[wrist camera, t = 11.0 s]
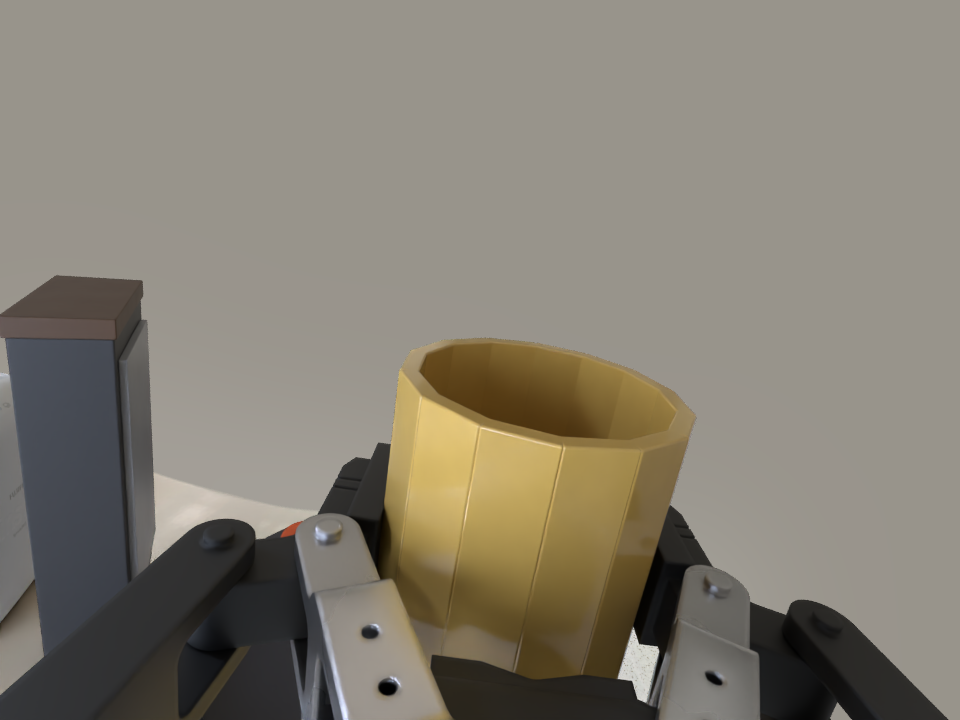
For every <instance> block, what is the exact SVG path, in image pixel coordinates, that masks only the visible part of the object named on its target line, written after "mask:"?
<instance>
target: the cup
mask: <svg viewBox="0 0 960 720" xmlns="http://www.w3.org/2000/svg"><path fill="white" fill-rule="evenodd" d="M397 387H398V388H397V395H396V405H395V412H394V422H393V430H392V439H391V447H390V456H389V464H388V473H387V482H386V490H385V499H384V511H383V520H382V529H381V537H380V546H379V555H378V564H377V572H378V575H379V578H380V580H382V579H387V578H391V579H392V580H393V581H394V583H395V585H396V587H397V590H398V592H399V595H400V597H401V599H402V602H403V604H404V607H405V609H406V611H407V614H408V616H409V619H410V621H411V623H412V626H413V628H414V631H415V633H416V635H417V638H418V640H419V643H420V645H421V647H422V650H423V652H424V655H425V657H426V659H427V662H428V664H429V667H430V664H431V657H432V655H439V656H447V657H454V658H462V659H470V660H477V661H483V662H485V663H488V664H491V665H494V666H496V667H499V668H502V669H505V670H508V671H510V672H513V673H516V674H519V675H521V676H524V677H527V678H530V679H547V678H556V677H566V676H575V675H590V676H598V677H605V678H613V679H618V677H619V673H620V670H621V667H622V663H623V660H624V657H625V653H626V650H627V647H628V644H629V640H630V637H631V634H632V630H633V627H634V624H635V620H636V617H637V614H638V610H639V607H640V604H641V600H642V597H643V594H644V590H645V587H646V584H647V580H648V577H649V574H650V571H651V567H652V564H653V561H654V557H655V554H656V551H657V547H658V544H659V541H660V537H661V534H662V531H663V527H664V524H665V521H666V517H667V514H668V511H669V507H670V504H671V501H672V498H673V494H674V491H675V487H676V484H677V481H678V478H679V474H680V471H681V468H682V464H683V461H684V457H685V454H686V451H687V448H688V444H689V441H690V438H691V434H692V431H693V428H694V424H695V421H696V415H695V414H694V413H693V412H692V410H691V409H690V408H689V407H688V406H687V405H686V404H685V403H684V402H683V400H682V399H681V398H680V397H679V396H678V395H677V394H676V393H675V392H674V391H672V390H671V389H669V388H667V387H665V386H663V385H661V384H659V383H657V382H655V381H654V380H652V379H650V378H648V377H646V376H644V375H642V374H641V373H639V372H637V371H634V370H633V369H630V368H627V367H624V366H621V365H618V364H615V363H612V362H610V361H607V360H604V359H601V358H598V357H595V356H592V355H589V354H585V353H582V352H577V351H572V350H568V349H563V348H558V347H554V346H549V345H544V344H540V343H534V342H525V341H514V340H504V339H494V338H473V339H454V340H453V339H451V340H441V341H438V342H435V343H432V344H429V345H425V346H422V347H419V348H416V349H413V350H411V351H410V352H409V354H408V356H407V357H406V359H405V361H404V363H403V365H402V366H401V368H400V370H399V378H398V386H397Z"/></svg>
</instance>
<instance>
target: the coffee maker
mask: <svg viewBox="0 0 960 720" xmlns="http://www.w3.org/2000/svg"><path fill="white" fill-rule="evenodd" d="M142 283H143V282H142V281H141V280H124V279H107V278H91V277H90V278H89V277H74V276H73V277H72V276H54V277H53V278H51V279H50V280H49V281H47V282H46V283H44V284H43V285H41V286H40V287H39V288H37V289H36V290H34V291H33V292H31V293H30V294H29V295H27V296H26V297H24V298H23V299H21V300H20V301H18V302H17V303H16V304H14V305H13V306H11V307H10V308H9V309H7V310H6V311H4V312H3V313H2V314H0V337H1V338H6V339H5V341H6V348H7V357H8V364H9V372H10V381H11V390H12V398H13V406H14V414H15V422H16V430H17V438H18V447H19V455H20V463H21V471H22V479H23V487H24V495H25V504H26V512H27V520H28V528H29V536H30V544H31V552H32V561H33V569H34V577H35V585H36V593H37V601H38V609H39V618H40V626H41V634H42V642H43V650H44V657H45V656H46V655H47V654H48V653H49V652H50V651H52V650H53V649H54V648H55V647H56V646H57V645H58V644H60V643H61V642H62V641H63V640H64V639H65V638H66V637H68V636H69V635H70V634H71V633H72V632H73V631H74V630H76V629H77V628H78V627H79V626H80V625H81V624H83V623H84V622H85V621H86V620H87V619H88V618H89V617H91V616H92V615H93V614H94V613H95V612H96V611H97V610H99V609H100V608H101V607H102V606H103V605H104V604H105V603H107V602H108V601H109V600H110V599H111V598H112V597H113V596H115V595H116V594H117V593H118V592H119V591H120V590H121V589H123V588H124V587H125V586H126V585H127V584H128V583H130V582H131V581H132V580H133V579H134V578H135V577H136V576H138V575H139V574H140V573H141V572H142V571H143V570H144V569H146V568H147V567H148V566H149V565H150V559H151V550H152V545H153V540H154V534H155V529H156V528H155V503H154V478H153V454H152V429H151V403H150V378H149V352H148V328H147V320H141V301H140V300H141V298H142V297H143V284H142ZM202 717H203V720H301V708H300V701H299V695H298V688H297V682H296V675H295V669H294V662H293V656H292V649H291V643H290V640H288V641H281V642H274V643H267V644H260V645H253V646H251V647H250V649H249V651H248V652H247V654H246V655H245V657H244V658H243V659H242V661H241V662H240V664H239V665H238V666H237V668H236V669H235V671H234V672H233V674H232V675H231V676H230V678H229V679H228V681H227V682H226V684H225V685H224V686H223V688H222V689H221V691H220V692H219V694H218V695H217V696H216V698H215V699H214V701H213V702H212V703H211V705H210V706H209V708H208V709H207V711H206V712H205V713H204V715H203V716H202Z"/></svg>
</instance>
